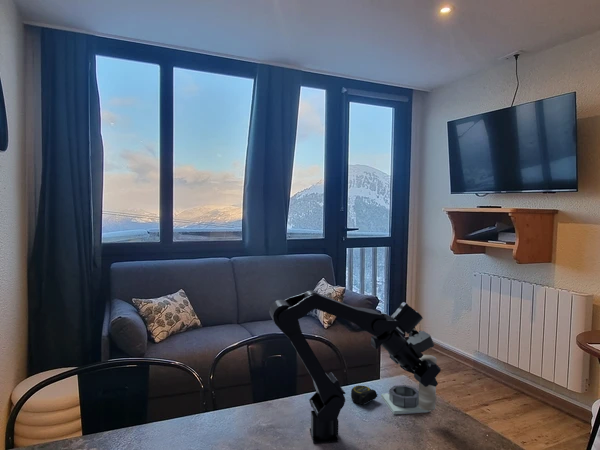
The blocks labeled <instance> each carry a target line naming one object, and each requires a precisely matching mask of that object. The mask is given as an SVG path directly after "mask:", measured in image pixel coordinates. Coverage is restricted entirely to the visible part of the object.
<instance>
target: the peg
mask: <svg viewBox="0 0 600 450" xmlns="http://www.w3.org/2000/svg"><path fill="white" fill-rule="evenodd" d="M419 359H420V360H422V361H423V360H431V361H432V362H434V363H435V364H437V365H438V363H437V359H438V358H437V357H436V356H434V355H431V354H423V356H422V357H421V358H419ZM420 365H421V364H420ZM435 379H436V380H437V376H436V377H435ZM418 391H419V405H418V406H419V407H420V408H421V409H423V410H427V411H429V412H430V411H431V412H432V411H435V410H436V398H437V397H436V395H437V394H436V391H437V386H436V387H435V386H432V385H428V386H427V387H424V386H423V385H422V384H421V383H420V382H419V381H418Z"/></svg>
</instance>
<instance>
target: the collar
mask: <svg viewBox="0 0 600 450" xmlns="http://www.w3.org/2000/svg"><path fill="white" fill-rule="evenodd" d="M388 393H389V400H390V401H391V402H392V404H394V405H396V406H399V407H402V408H415V407H417V406H418V405H419V389H417V388H416V387H413V386H409V385H407V384H403V385H402V384H401V385H400V384H398V385H393V386H392V387H390V388H389V392H388ZM404 396H407V397H404Z"/></svg>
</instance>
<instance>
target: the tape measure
mask: <svg viewBox="0 0 600 450" xmlns="http://www.w3.org/2000/svg"><path fill="white" fill-rule="evenodd" d="M377 397H378V393H377V391H376V390H375V389H371V388H370V387H369V386H367V385H366V386H365V385H356V386H355V385H354V387H352V388H351V390H350V398H351V400H352V402H354V403H357V404H360V405H366V404H368V403H370V402H371V401H373V400H375V399H377Z"/></svg>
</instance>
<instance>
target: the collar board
mask: <svg viewBox="0 0 600 450" xmlns="http://www.w3.org/2000/svg"><path fill="white" fill-rule="evenodd" d="M380 397H381V399H382V400H383V401H384V403H385V404H386V405H387V407H388V409H389V410H390V411H391V413H392V414H393V415H405V414H419V413H421V414H422V413H430V411H427V410H423V409H421V408H420V407H419V406H417V407H415V408H402V407H399V406H396V405H394V404H392V402H391V401H390V400H389V392H387V393H381V395H380ZM404 397H407V396H404Z"/></svg>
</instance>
